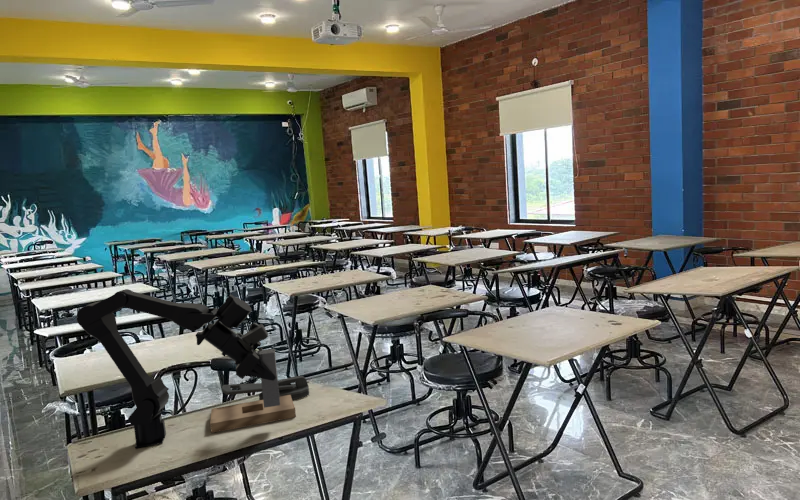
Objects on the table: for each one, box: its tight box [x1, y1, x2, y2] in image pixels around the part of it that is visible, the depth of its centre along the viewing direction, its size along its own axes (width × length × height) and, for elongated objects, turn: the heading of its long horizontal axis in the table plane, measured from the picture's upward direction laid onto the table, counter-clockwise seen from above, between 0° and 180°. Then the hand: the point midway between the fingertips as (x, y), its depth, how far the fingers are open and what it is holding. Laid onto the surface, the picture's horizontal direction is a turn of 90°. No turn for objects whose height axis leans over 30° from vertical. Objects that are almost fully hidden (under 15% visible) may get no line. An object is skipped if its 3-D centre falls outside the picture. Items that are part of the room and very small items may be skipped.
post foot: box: [209, 395, 297, 434], centre depth 156 cm, size 22×12×2 cm, turn 107°
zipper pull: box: [221, 375, 310, 401], centre depth 169 cm, size 9×7×25 cm
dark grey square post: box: [258, 348, 280, 408], centre depth 147 cm, size 4×4×14 cm
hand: (274, 376), depth 148 cm, fingers closed on dark grey square post, 4 cm apart
